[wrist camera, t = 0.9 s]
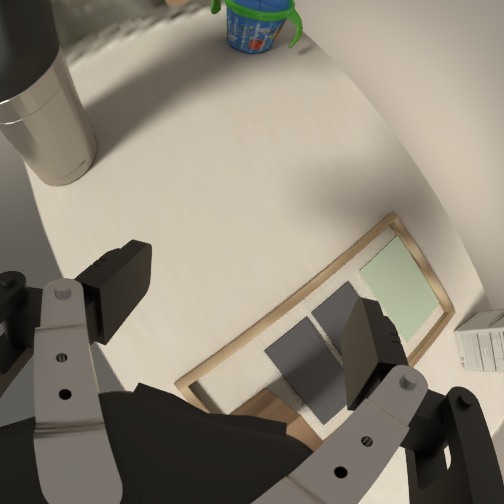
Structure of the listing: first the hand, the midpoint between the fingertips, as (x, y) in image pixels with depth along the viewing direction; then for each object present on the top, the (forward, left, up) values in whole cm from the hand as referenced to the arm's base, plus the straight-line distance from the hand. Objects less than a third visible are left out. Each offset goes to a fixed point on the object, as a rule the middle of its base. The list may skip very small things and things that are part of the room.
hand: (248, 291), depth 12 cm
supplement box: (+29, +28, -23) cm, 47 cm away
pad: (+13, +22, -23) cm, 34 cm away
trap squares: (+13, +10, -23) cm, 28 cm away
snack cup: (-32, +29, -23) cm, 49 cm away
